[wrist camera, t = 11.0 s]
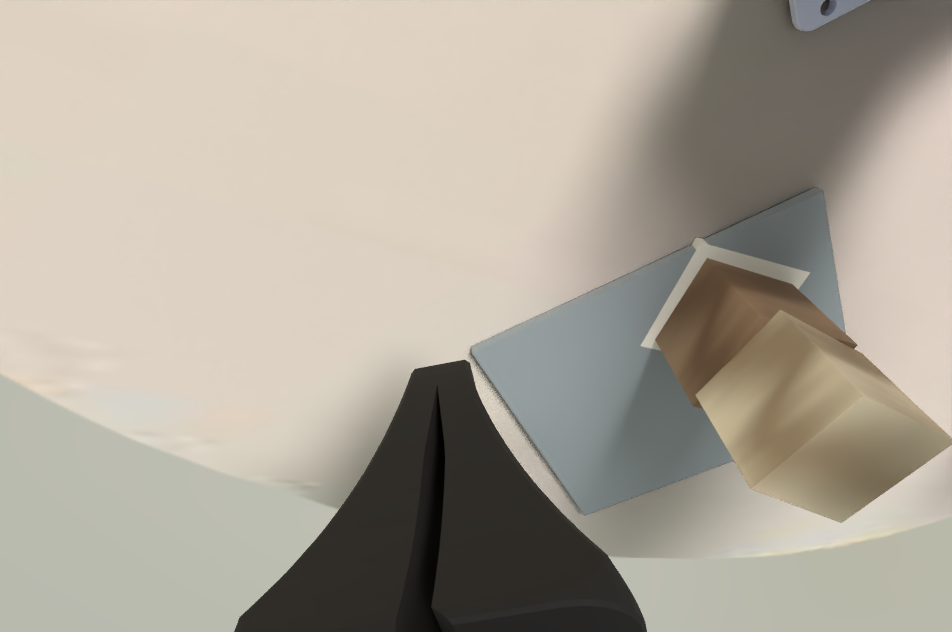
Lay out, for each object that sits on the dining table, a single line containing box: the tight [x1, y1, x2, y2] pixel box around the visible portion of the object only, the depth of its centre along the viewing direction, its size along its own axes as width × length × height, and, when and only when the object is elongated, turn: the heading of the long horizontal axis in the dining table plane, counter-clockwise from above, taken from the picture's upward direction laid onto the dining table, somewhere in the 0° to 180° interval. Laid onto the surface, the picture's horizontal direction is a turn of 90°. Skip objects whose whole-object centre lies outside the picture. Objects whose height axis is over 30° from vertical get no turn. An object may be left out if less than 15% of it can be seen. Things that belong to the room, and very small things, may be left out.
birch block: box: [696, 310, 952, 523], centre depth 19 cm, size 4×4×4 cm
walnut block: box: [655, 258, 857, 409], centre depth 23 cm, size 4×4×4 cm
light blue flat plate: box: [471, 187, 846, 516], centre depth 27 cm, size 16×15×1 cm
